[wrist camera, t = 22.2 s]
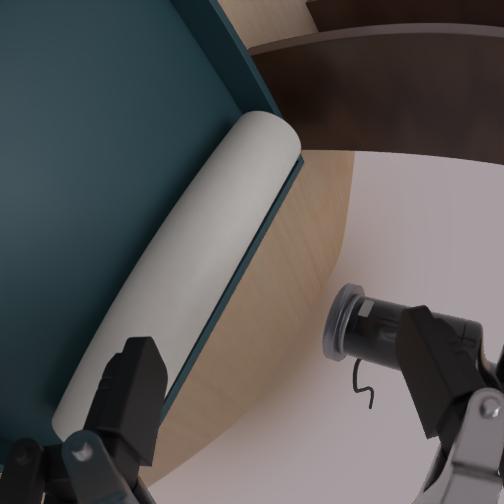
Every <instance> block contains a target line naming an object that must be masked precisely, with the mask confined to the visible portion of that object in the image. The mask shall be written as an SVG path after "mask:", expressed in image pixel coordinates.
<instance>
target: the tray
mask: <svg viewBox="0 0 504 504" xmlns="http://www.w3.org/2000/svg"><path fill="white" fill-rule="evenodd" d="M251 111H263V112H268V113H271V114H273V115H276V116H278V117H280V118H281V119H283V117H282V115H281V113H280V111H279V109H278V107H277V105H276V103H275V101H274V99H273V97H272V96H271V94H270V92H269V90H268V88H267V86H266V84H265V82H264V80H263V79H262V77H261V75H260V73H259V71H258V69H257V68H256V66H255V64H254V62H253V60H252V59H251V57H250V55H249V53H248V52H247V50H246V48H245V46H244V45H243V43H242V41H241V39H240V38H239V36H238V34H237V33H236V31H235V29H234V27H233V26H232V24H231V22H230V21H229V19H228V17H227V16H226V14H225V13H224V11H223V9H222V8H221V6H220V5H219V3H218V1H217V0H0V473H2V472H3V469H4V465H5V462H6V459H7V456H8V453H9V450H10V448H11V446H12V445H13V444H14V443H15V442H16V441H17V440H19V439H21V438H26V437H28V438H32V439H34V440H35V441H36V442H37V443H38V444H39V445H40V446H50V445H57V444H63V443H64V442H63V441H62V440H61V439H60V438H59V437H58V435H57V434H56V433H55V431H54V429H53V427H52V418H53V416H54V414H55V412H56V409H57V407H58V405H59V403H60V401H61V399H62V397H63V395H64V393H65V391H66V389H67V387H68V385H69V383H70V381H71V379H72V377H73V375H74V373H75V371H76V369H77V367H78V365H79V363H80V361H81V359H82V357H83V355H84V354H85V352H86V350H87V348H88V346H89V344H90V342H91V341H92V339H93V337H94V335H95V333H96V332H97V330H98V328H99V326H100V324H101V323H102V321H103V319H104V317H105V316H106V314H107V312H108V310H109V309H110V307H111V305H112V303H113V302H114V300H115V298H116V297H117V295H118V293H119V292H120V290H121V288H122V287H123V285H124V283H125V282H126V280H127V278H128V277H129V275H130V274H131V272H132V270H133V269H134V267H135V265H136V264H137V262H138V261H139V259H140V258H141V256H142V254H143V253H144V251H145V250H146V248H147V247H148V245H149V243H150V242H151V240H152V239H153V237H154V236H155V234H156V233H157V231H158V230H159V228H160V227H161V225H162V224H163V222H164V221H165V219H166V218H167V216H168V215H169V213H170V212H171V210H172V209H173V208H174V206H175V205H176V203H177V202H178V200H179V199H180V197H181V196H182V195H183V193H184V192H185V190H186V189H187V187H188V186H189V185H190V183H191V182H192V180H193V179H194V178H195V176H196V175H197V174H198V172H199V171H200V169H201V168H202V167H203V165H204V164H205V163H206V161H207V160H208V159H209V157H210V156H211V155H212V153H213V152H214V151H215V149H216V148H217V147H218V145H219V144H220V143H221V141H222V140H223V139H224V137H225V136H226V135H227V134H228V132H229V131H230V130H231V128H232V127H233V126H234V125H235V123H236V122H237V121H238V120H239V118H240V117H241V116H242V115H243V114H245V113H248V112H251ZM283 120H284V119H283ZM303 164H304V160H303V158H302V157H301V154H300V155H299V157H298V158H297V160H296V162H295V164H294V165H293V167H292V169H291V171H290V173H289V174H288V176H287V178H286V180H285V182H284V183H283V185H282V187H281V189H280V190H279V192H278V194H277V196H276V198H275V199H274V201H273V203H272V205H271V207H270V208H269V210H268V212H267V214H266V216H265V217H264V219H263V221H262V223H261V225H260V226H259V228H258V230H257V232H256V234H255V235H254V237H253V239H252V241H251V243H250V244H249V246H248V248H247V250H246V252H245V253H244V255H243V257H242V259H241V261H240V262H239V264H238V266H237V268H236V270H235V272H234V273H233V275H232V277H231V279H230V281H229V282H228V284H227V286H226V288H225V290H224V291H223V293H222V295H221V297H220V299H219V300H218V302H217V304H216V306H215V308H214V310H213V311H212V313H211V315H210V317H209V319H208V320H207V322H206V324H205V326H204V328H203V330H202V331H201V333H200V335H199V337H198V339H197V340H196V342H195V344H194V346H193V348H192V350H191V351H190V353H189V355H188V357H187V359H186V361H185V362H184V364H183V366H182V368H181V370H180V372H179V373H178V375H177V377H176V379H175V381H174V383H173V384H172V386H171V388H170V390H169V392H168V394H167V395H166V397H165V399H164V404H163V408H162V413H161V418H160V424H159V427H160V425H161V423H162V421H163V420H164V418H165V416H166V414H167V412H168V411H169V409H170V407H171V405H172V403H173V402H174V400H175V398H176V396H177V394H178V392H179V391H180V389H181V387H182V385H183V383H184V382H185V380H186V378H187V376H188V374H189V373H190V371H191V369H192V367H193V365H194V363H195V362H196V360H197V358H198V356H199V354H200V353H201V351H202V349H203V347H204V345H205V343H206V342H207V340H208V338H209V336H210V334H211V332H212V331H213V329H214V327H215V325H216V323H217V322H218V320H219V318H220V316H221V314H222V312H223V311H224V309H225V307H226V305H227V303H228V302H229V300H230V298H231V296H232V294H233V292H234V291H235V289H236V287H237V285H238V283H239V281H240V280H241V278H242V276H243V274H244V272H245V270H246V269H247V267H248V265H249V263H250V261H251V259H252V258H253V256H254V254H255V252H256V250H257V249H258V247H259V245H260V243H261V241H262V239H263V238H264V236H265V234H266V232H267V230H268V228H269V227H270V225H271V223H272V221H273V219H274V217H275V216H276V214H277V212H278V210H279V208H280V206H281V205H282V203H283V201H284V199H285V197H286V195H287V194H288V192H289V190H290V188H291V186H292V184H293V182H294V181H295V179H296V177H297V175H298V173H299V171H300V170H301V168H302V166H303Z"/></svg>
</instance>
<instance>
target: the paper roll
mask: <svg viewBox="0 0 504 504" xmlns="http://www.w3.org/2000/svg"><path fill="white" fill-rule="evenodd" d="M300 152H301V143H300V140H299V137H298V135H297V133H296V132H295V131H294V129H293V128H292V127H291V126H290V125H289V124H288V123H287V122H285V121H284V120H283V119H281V118H280V117H278V116H276V115H273V114H271V113H268V112H263V111H251V112H248V113H245V114H243V115H242V116H241V117H240V118H239V120H238V121H237V122H236V123H235V125H234V126H233V127H232V128H231V130H230V131H229V132H228V134H227V135H226V136H225V137H224V139H223V140H222V141H221V143H220V144H219V145H218V147H217V148H216V149H215V151H214V152H213V153H212V155H211V156H210V157H209V159H208V160H207V161H206V163H205V164H204V165H203V167H202V168H201V169H200V171H199V172H198V174H197V175H196V176H195V178H194V179H193V180H192V182H191V183H190V185H189V186H188V187H187V189H186V190H185V192H184V193H183V195H182V196H181V197H180V199H179V200H178V202H177V203H176V205H175V206H174V208H173V209H172V210H171V212H170V213H169V215H168V216H167V218H166V219H165V221H164V222H163V224H162V225H161V227H160V228H159V230H158V231H157V233H156V234H155V236H154V237H153V239H152V240H151V242H150V243H149V245H148V247H147V248H146V250H145V251H144V253H143V254H142V256H141V258H140V259H139V261H138V262H137V264H136V265H135V267H134V269H133V270H132V272H131V274H130V275H129V277H128V278H127V280H126V282H125V283H124V285H123V287H122V288H121V290H120V292H119V293H118V295H117V297H116V298H115V300H114V302H113V303H112V305H111V307H110V309H109V310H108V312H107V314H106V316H105V317H104V319H103V321H102V323H101V324H100V326H99V328H98V330H97V332H96V333H95V335H94V337H93V339H92V341H91V342H90V344H89V346H88V348H87V350H86V352H85V354H84V355H83V357H82V359H81V361H80V363H79V365H78V367H77V369H76V371H75V373H74V375H73V377H72V379H71V381H70V383H69V385H68V387H67V389H66V391H65V393H64V395H63V397H62V399H61V401H60V403H59V405H58V407H57V409H56V412H55V414H54V416H53V418H52V427H53V429H54V431H55V433H56V434H57V435H58V437H59V438H60V439H61V440H62V441H63V442H65V440H66V439H67V438H68V437H69V436H70V435H71V434H72V433H74V432H76V431H79V430H82V429H83V426H84V424H85V421H86V418H87V415H88V412H89V409H90V407H91V404H92V401H93V398H94V395H95V393H96V390H98V385H99V382H100V379H102V374H103V372H104V369H105V366H106V364H107V363H108V362H109V360H110V359H111V358H112V357H113V356H114V355H115V354H116V353H122V351H123V348H124V345H125V343H126V340H127V339H128V338H129V337H145V336H151V337H152V338H153V339H154V341H155V344H156V346H157V348H158V350H159V353H160V355H161V357H162V359H163V361H164V363H165V365H166V368H167V373H168V384H167V389H166V394H165V397H166V395H167V394H168V392H169V390H170V388H171V386H172V384H173V383H174V381H175V379H176V377H177V375H178V373H179V372H180V370H181V368H182V366H183V364H184V362H185V361H186V359H187V357H188V355H189V353H190V351H191V350H192V348H193V346H194V344H195V342H196V340H197V339H198V337H199V335H200V333H201V331H202V330H203V328H204V326H205V324H206V322H207V320H208V319H209V317H210V315H211V313H212V311H213V310H214V308H215V306H216V304H217V302H218V300H219V299H220V297H221V295H222V293H223V291H224V290H225V288H226V286H227V284H228V282H229V281H230V279H231V277H232V275H233V273H234V272H235V270H236V268H237V266H238V264H239V262H240V261H241V259H242V257H243V255H244V253H245V252H246V250H247V248H248V246H249V244H250V243H251V241H252V239H253V237H254V235H255V234H256V232H257V230H258V228H259V226H260V225H261V223H262V221H263V219H264V217H265V216H266V214H267V212H268V210H269V208H270V207H271V205H272V203H273V201H274V199H275V198H276V196H277V194H278V192H279V190H280V189H281V187H282V185H283V183H284V182H285V180H286V178H287V176H288V174H289V173H290V171H291V169H292V167H293V165H294V164H295V162H296V160H297V158H298V157H299V155H300Z"/></svg>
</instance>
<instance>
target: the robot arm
mask: <svg viewBox="0 0 504 504" xmlns="http://www.w3.org/2000/svg"><path fill="white" fill-rule="evenodd" d="M337 347H338V351H339V353H340V354H343V355H349V356H352V357H356V358H358V359H357V361H356V363H355V366H354V372H353V389H354V391H355V392H356V393H359V392H362V391H366V390H370V391H371V399H370V405H369V409H371V408H372V403H373V398H374V391H373V388H371V387H365V388H361V389H357V370H358V366H359V362H360V361H361V360H365V361H368V362H371V363H375V364H379V365H382V366H385V367H388V368H392V369H395V370H399V371H402V374H403V376H404V379H405V381H406V383H407V386H408V388H409V391H410V393H411V396H412V399H413V402H414V404H415V407H416V410H417V412H418V415H419V418H420V421H421V423H422V426H423V429H424V432H425V435H426V438H427V439H429V438H432V437H436V436H439V439H440V441H441V443H440V444H439V446H438V449H437V452H436V454H435V457H434V460H433V462H432V465H431V467H430V469H429V472H428V474H427V476H426V479H425V481H424V483H423V486H422V488H421V490H420V492H419V494H418V496H417V498H416V499H415V501H414V502H413V503H412V504H497V503H498V500H499V496H500V493H501V489H502V485H503V487H504V345H503V348H502V351H501V354H500V357H499V360H498V362H497V364H495V363H492V362H490V361H488V360H487V359H486V357H485V354H484V347H483V327H482V325H481V324H480V323H479V322H476V321H472V320H466V319H463V318H458V317H454V316H449V315H444V314H440V313H435V312H431V311H430V310H429V309H428V307H426V306H425V305H421V306H416V307H409V306H405V305H400V304H396V303H391V302H387V301H383V300H379V299H374V298H370V297H366V296H364V295H361V294H356V295H355V296H354V297H353V298H352V299H351V301H350V302H349V304H348V306H347V308H346V310H345V312H344V315H343V318H342V321H341V324H340V328H339V333H338V341H337ZM167 384H168V373H167V368H166V365H165V363H164V361H163V359H162V357H161V355H160V353H159V350H158V348H157V346H156V344H155V341H154V339H153V338H152V337H151V336H145V337H129V338H128V339H127V340H126V343H125V345H124V348H123V351H122V353H116V354H115V355H114V356H113V357H112V358H111V359H110V360H109V362H108V363H107V364H106V366H105V369H104V372H103V374H102V379H100V382H99V385H98V390H96V393H95V395H94V398H93V401H92V404H91V407H90V409H89V412H88V415H87V418H86V421H85V424H84V426H83V429H82V430H79V431H76V432H74V433H72V434H71V435H70V436H69V437H68V438H67V439H66V440H65V442H64V443H63V444H57V445H50V446H40V445H39V444H38V443H37V442H36V441H35V440H34V439H32V438H28V437H26V438H21V439H19V440H17V441H16V442H15V443H14V444H13V445H12V446H11V448H10V450H9V453H8V456H7V459H6V462H5V465H4V469H3V472H2V475H1V479H0V504H41V500H42V495H43V492H44V493H46V495H45V499H44V504H156V502H155V501H154V499H153V498H152V496H151V495H150V493H149V491H148V490H147V488H146V486H145V485H144V483H143V481H142V480H141V478H140V476H139V475H138V471H139V466H140V465H141V466H151V467H152V461H153V455H154V450H155V444H156V439H157V434H158V429H159V424H160V418H161V413H162V408H163V404H164V399H165V394H166V389H167ZM498 470H499V473H500V475H498Z"/></svg>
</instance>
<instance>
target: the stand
mask: <svg viewBox="0 0 504 504" xmlns="http://www.w3.org/2000/svg"><path fill="white" fill-rule="evenodd" d="M306 4H307V6H308V8H309V10H310V12H311V14H312V17H313V19H314V21H315V23H316V25H317V28H318V30H319V32H320V33H314V34H309V35H304V36H298V37H293V38H289V39H284V40H280V41H275V42H271V43H267V44H263V45H259V46H255V47H251V48H250V49H249V50H248V51H247V52H248V53H249V55H250V57H251V59H252V60H253V62H254V64H255V66H256V68H257V69H258V71H259V73H260V75H261V77H262V79H263V80H264V82H265V84H266V86H267V88H268V90H269V92H270V94H271V96H272V97H273V99H274V101H275V103H276V105H277V107H278V109H279V111H280V113H281V115H282V117H283V119H284V121H285V122H287V123H288V124H289V125H290V126H291V127H292V128H293V129H294V131H295V132H296V133H297V135H298V137H299V140H300V143H301V150H349V151H375V152H392V153H406V154H419V155H429V156H439V157H449V158H458V159H466V160H474V161H481V162H488V163H494V164H501V165H504V0H309V1H307V2H306Z"/></svg>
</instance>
